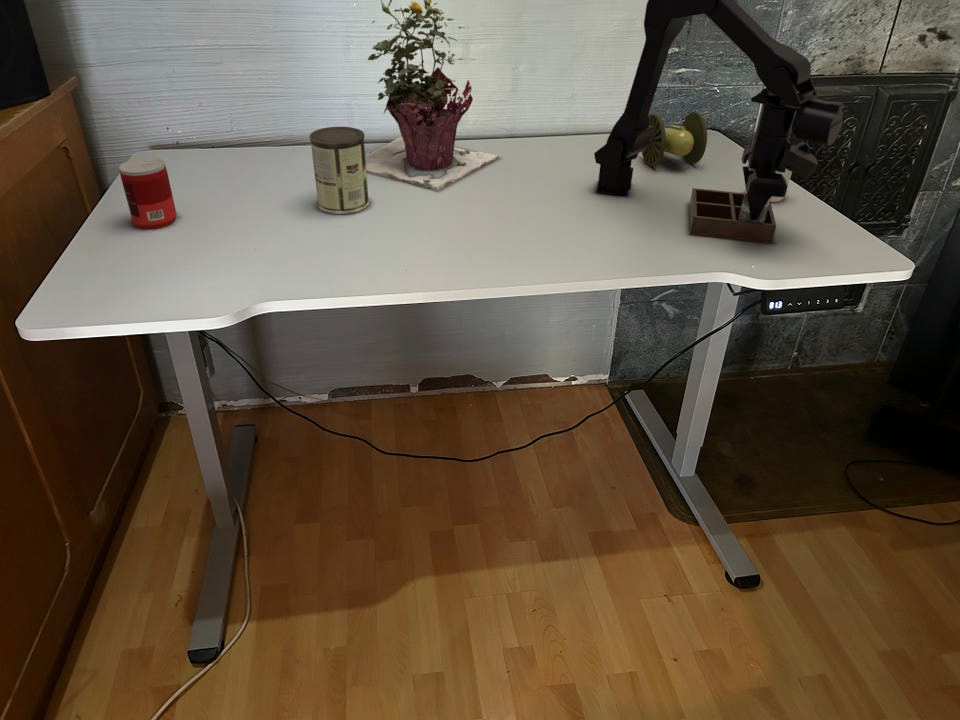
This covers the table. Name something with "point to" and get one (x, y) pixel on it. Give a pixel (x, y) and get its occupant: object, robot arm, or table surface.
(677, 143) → the cannon
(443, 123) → the potted flower
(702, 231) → the rack
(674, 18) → the robot arm
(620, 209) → the table surface
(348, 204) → the coffee can
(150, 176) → the canned food
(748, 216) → the pill bottle
